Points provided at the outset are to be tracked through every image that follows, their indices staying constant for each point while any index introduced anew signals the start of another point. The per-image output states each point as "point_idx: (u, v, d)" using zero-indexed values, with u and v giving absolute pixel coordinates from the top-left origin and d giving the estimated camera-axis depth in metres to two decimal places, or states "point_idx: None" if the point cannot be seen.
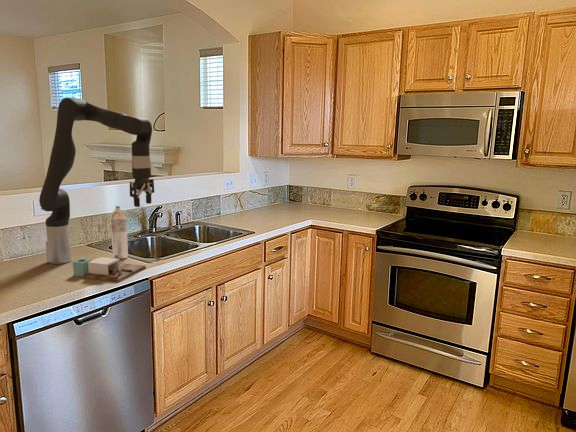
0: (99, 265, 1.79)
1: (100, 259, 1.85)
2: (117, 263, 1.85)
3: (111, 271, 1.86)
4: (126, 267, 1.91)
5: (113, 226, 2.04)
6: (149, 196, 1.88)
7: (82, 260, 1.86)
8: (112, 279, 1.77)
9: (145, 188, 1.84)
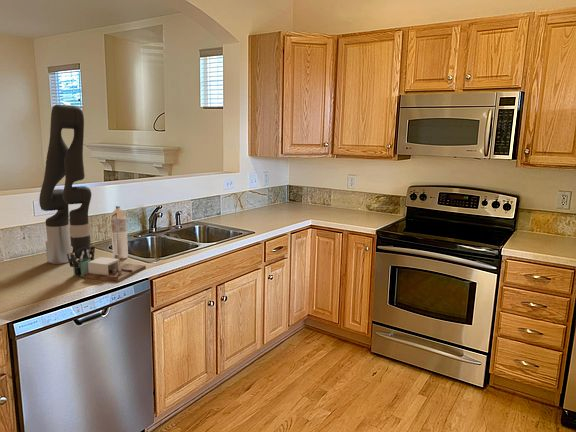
0: (99, 265, 1.79)
1: (100, 259, 1.85)
2: (117, 263, 1.85)
3: (111, 271, 1.86)
4: (126, 267, 1.91)
5: (113, 226, 2.04)
6: None
7: (82, 260, 1.86)
8: (112, 279, 1.77)
9: (84, 255, 1.83)
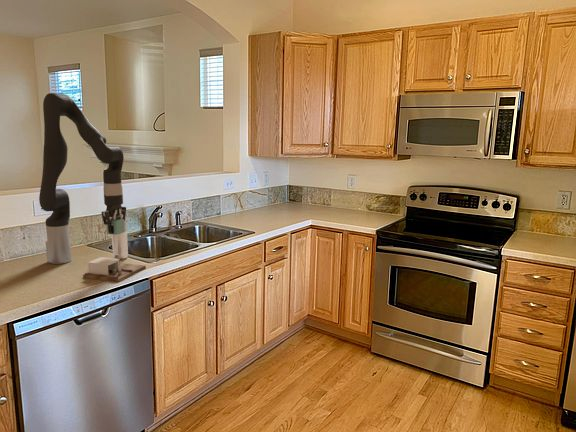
0: (99, 265, 1.79)
1: (100, 259, 1.85)
2: (117, 263, 1.85)
3: (111, 271, 1.86)
4: (126, 267, 1.91)
5: None
6: None
7: (115, 219, 1.92)
8: (112, 279, 1.77)
9: (116, 214, 1.89)
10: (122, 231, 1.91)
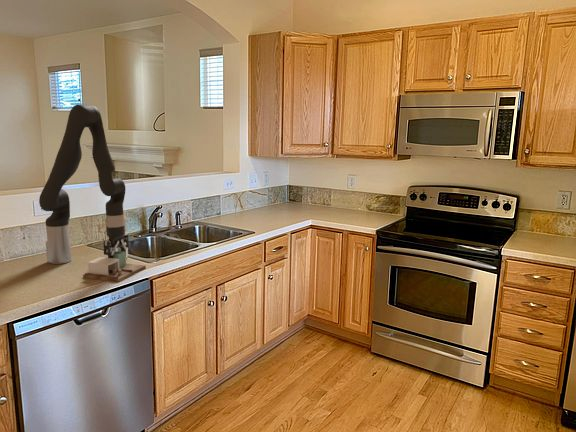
0: (99, 265, 1.79)
1: (100, 259, 1.85)
2: (117, 263, 1.85)
3: (111, 271, 1.86)
4: (126, 267, 1.91)
5: None
6: (124, 251, 1.96)
7: (116, 252, 1.94)
8: (112, 279, 1.77)
9: (119, 244, 1.92)
10: (124, 264, 1.94)
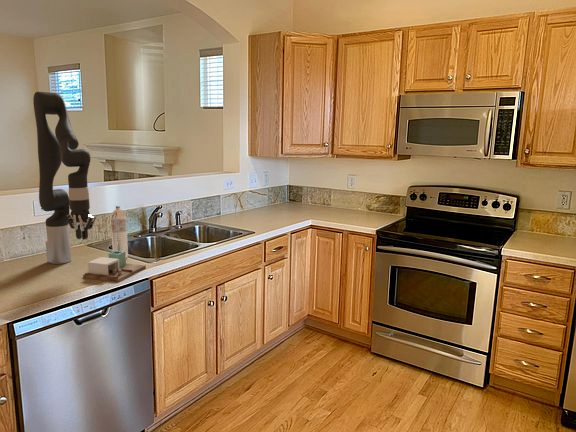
0: (99, 265, 1.79)
1: (100, 259, 1.85)
2: (117, 263, 1.85)
3: (111, 271, 1.86)
4: (126, 267, 1.91)
5: (113, 226, 2.04)
6: None
7: (116, 252, 1.94)
8: (112, 279, 1.77)
9: (78, 218, 1.81)
10: (124, 264, 1.94)
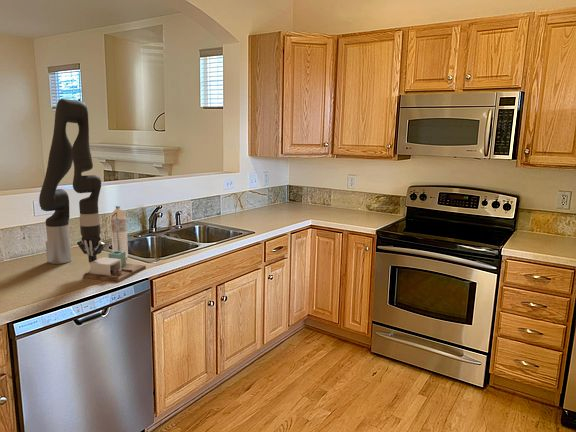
0: (101, 265, 1.79)
1: (102, 259, 1.84)
2: (119, 263, 1.85)
3: (111, 271, 1.86)
4: (126, 267, 1.91)
5: (113, 226, 2.04)
6: None
7: (116, 252, 1.94)
8: (112, 279, 1.77)
9: (88, 243, 1.82)
10: (124, 264, 1.94)
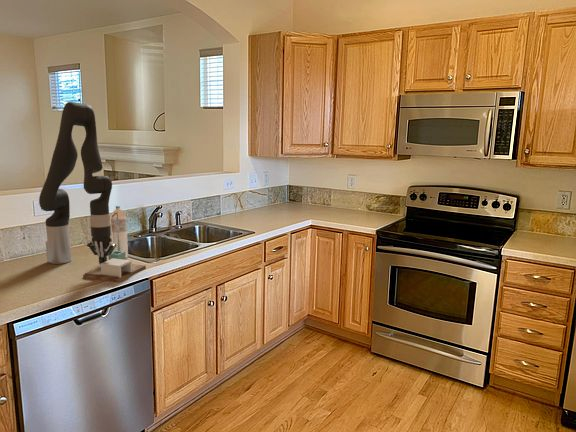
0: (112, 266, 1.77)
1: (113, 260, 1.83)
2: (129, 264, 1.84)
3: None
4: None
5: (113, 226, 2.04)
6: None
7: (116, 252, 1.94)
8: (112, 279, 1.77)
9: (99, 244, 1.81)
10: None
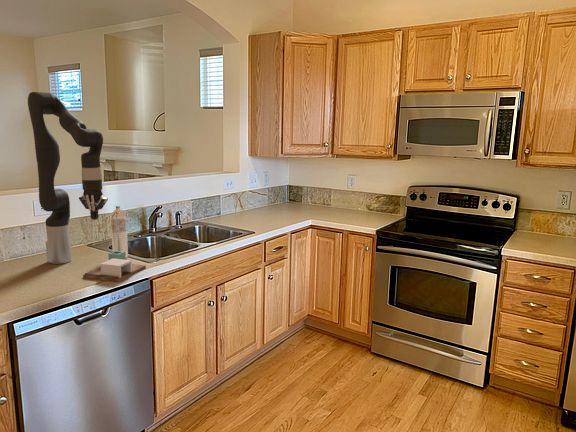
0: (112, 266, 1.77)
1: (113, 260, 1.83)
2: (129, 264, 1.84)
3: None
4: None
5: (113, 226, 2.04)
6: None
7: (116, 252, 1.94)
8: (112, 279, 1.77)
9: (90, 198, 1.82)
10: None
